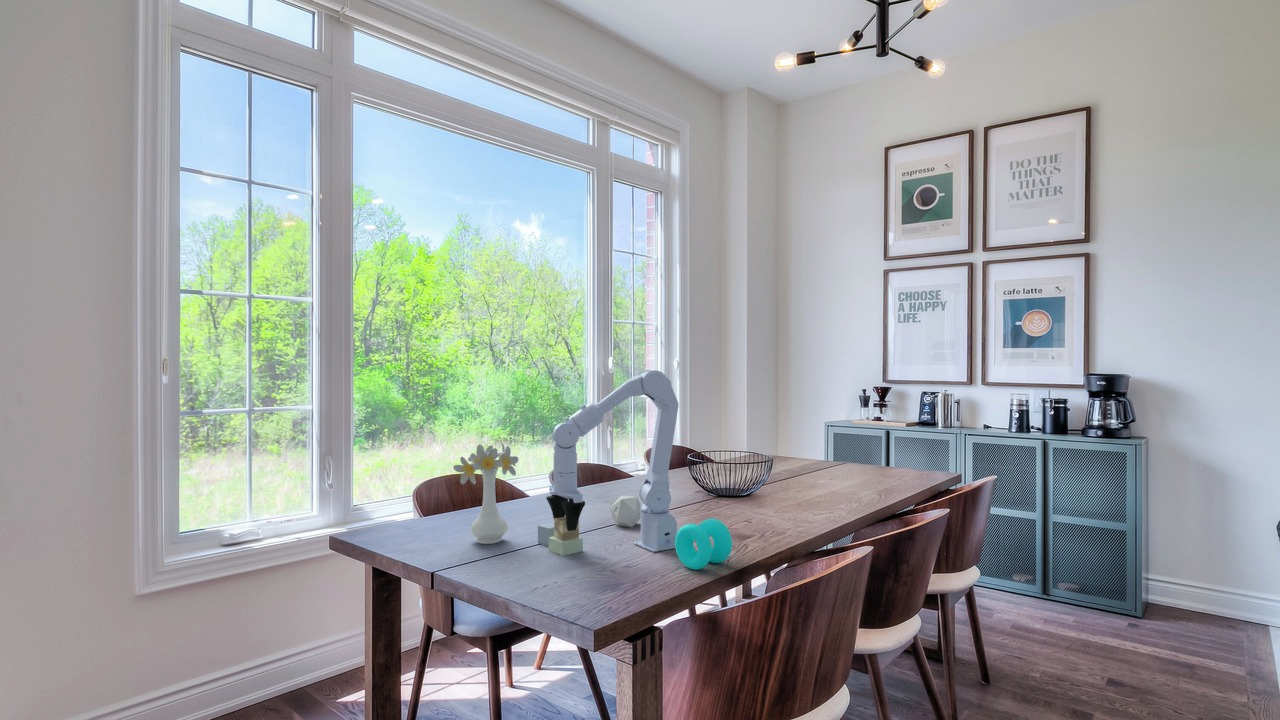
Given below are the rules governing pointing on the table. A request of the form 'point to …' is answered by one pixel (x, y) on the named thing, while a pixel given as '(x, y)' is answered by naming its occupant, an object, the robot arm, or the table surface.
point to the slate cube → (545, 533)
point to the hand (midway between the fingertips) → (565, 527)
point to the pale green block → (565, 546)
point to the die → (626, 511)
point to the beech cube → (564, 530)
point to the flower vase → (488, 490)
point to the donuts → (703, 543)
